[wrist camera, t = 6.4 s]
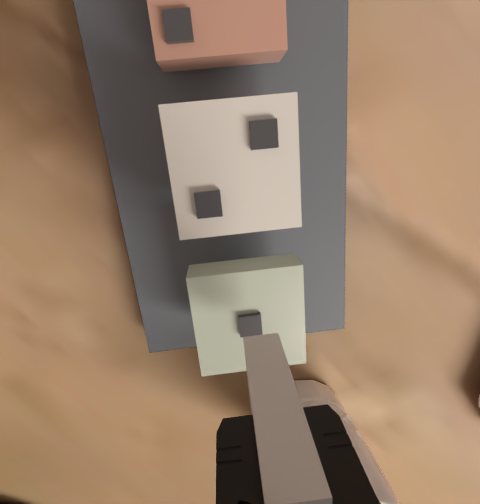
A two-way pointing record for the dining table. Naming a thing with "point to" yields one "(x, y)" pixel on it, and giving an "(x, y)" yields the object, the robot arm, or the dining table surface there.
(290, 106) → the tile two
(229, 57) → the tile three
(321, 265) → the board
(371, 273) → the dining table surface
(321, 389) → the white cup
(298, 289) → the tile one
